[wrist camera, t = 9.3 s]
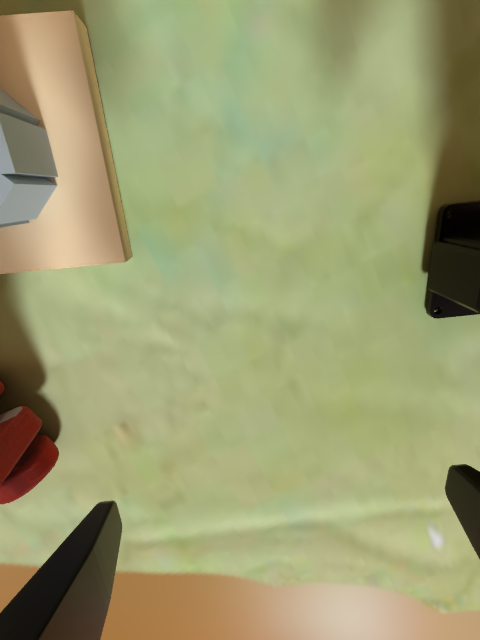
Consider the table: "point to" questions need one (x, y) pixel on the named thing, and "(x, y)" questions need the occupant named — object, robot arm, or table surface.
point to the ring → (23, 164)
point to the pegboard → (62, 146)
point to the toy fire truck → (23, 453)
